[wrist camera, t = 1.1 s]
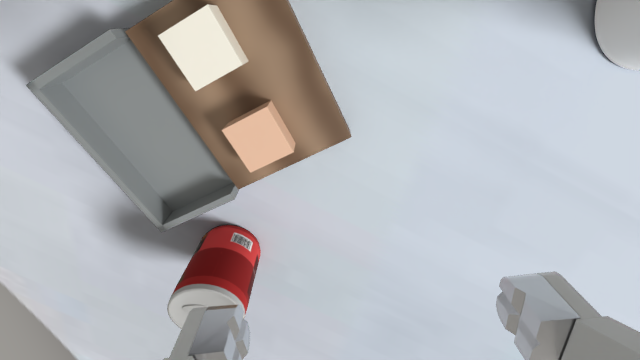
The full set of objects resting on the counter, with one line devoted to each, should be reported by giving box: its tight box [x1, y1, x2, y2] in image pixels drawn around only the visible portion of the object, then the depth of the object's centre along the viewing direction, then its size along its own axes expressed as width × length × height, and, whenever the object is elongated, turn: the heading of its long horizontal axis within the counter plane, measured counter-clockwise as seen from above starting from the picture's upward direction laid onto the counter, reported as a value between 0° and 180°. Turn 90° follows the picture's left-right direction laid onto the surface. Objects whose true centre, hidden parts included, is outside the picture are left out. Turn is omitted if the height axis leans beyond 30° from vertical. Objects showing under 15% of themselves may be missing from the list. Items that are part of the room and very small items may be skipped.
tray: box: [26, 28, 239, 233], centre depth 33 cm, size 10×19×4 cm, turn 27°
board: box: [125, 0, 351, 189], centre depth 31 cm, size 14×18×2 cm
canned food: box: [167, 225, 260, 329], centre depth 37 cm, size 8×8×11 cm
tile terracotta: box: [222, 100, 295, 173], centre depth 30 cm, size 5×5×2 cm
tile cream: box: [158, 4, 248, 91], centre depth 27 cm, size 5×5×2 cm
